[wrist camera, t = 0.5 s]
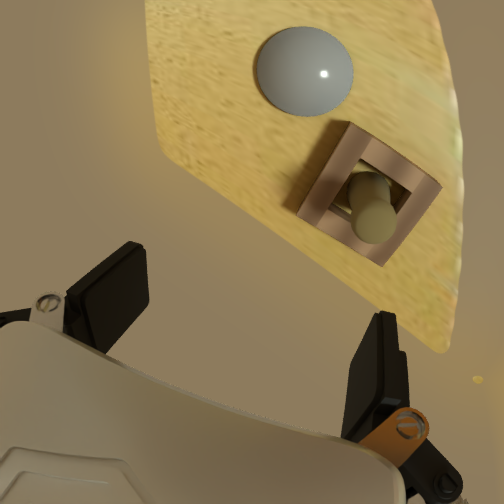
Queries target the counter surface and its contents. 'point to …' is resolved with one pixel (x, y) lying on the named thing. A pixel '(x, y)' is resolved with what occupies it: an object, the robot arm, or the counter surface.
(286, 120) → the counter surface
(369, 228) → the cork
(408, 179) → the frame
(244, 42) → the counter surface
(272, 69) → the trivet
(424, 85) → the counter surface
